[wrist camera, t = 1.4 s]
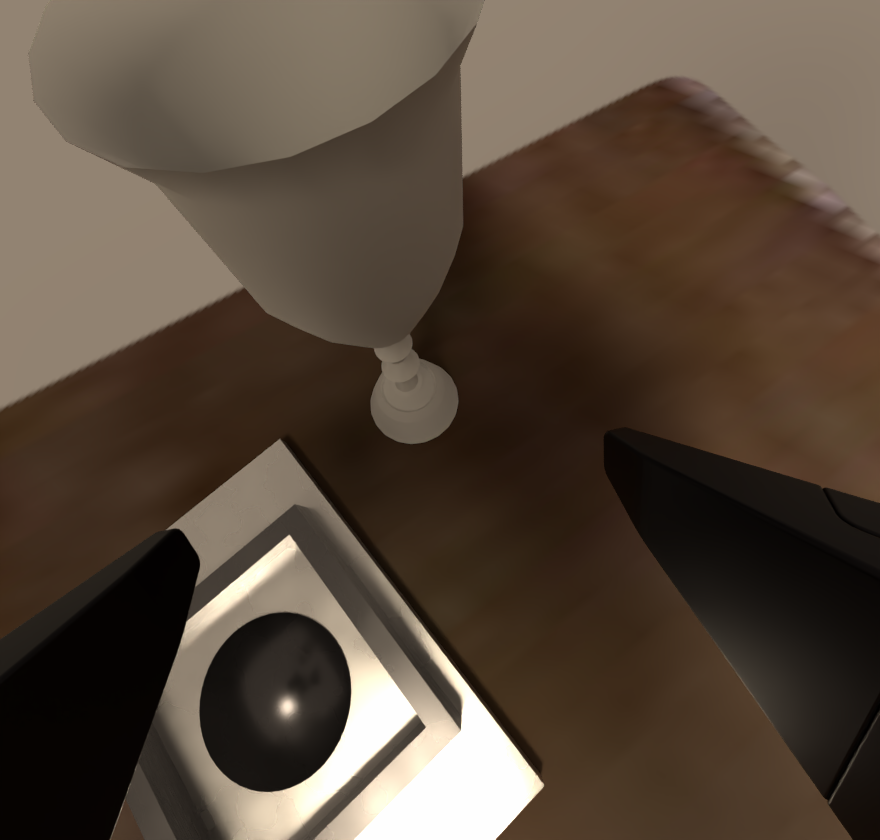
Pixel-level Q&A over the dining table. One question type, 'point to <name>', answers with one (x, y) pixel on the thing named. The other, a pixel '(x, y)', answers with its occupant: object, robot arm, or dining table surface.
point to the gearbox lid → (314, 690)
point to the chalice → (289, 153)
